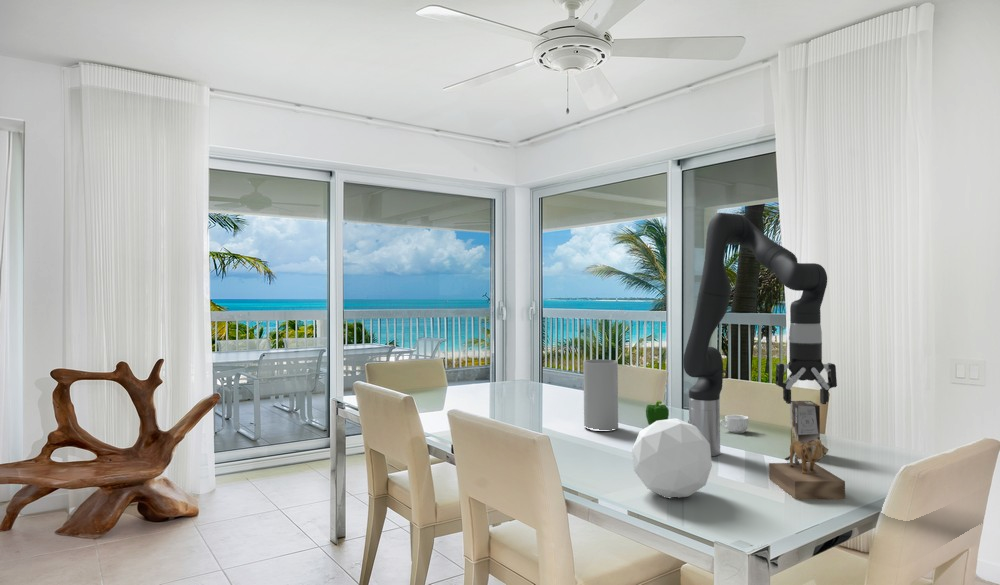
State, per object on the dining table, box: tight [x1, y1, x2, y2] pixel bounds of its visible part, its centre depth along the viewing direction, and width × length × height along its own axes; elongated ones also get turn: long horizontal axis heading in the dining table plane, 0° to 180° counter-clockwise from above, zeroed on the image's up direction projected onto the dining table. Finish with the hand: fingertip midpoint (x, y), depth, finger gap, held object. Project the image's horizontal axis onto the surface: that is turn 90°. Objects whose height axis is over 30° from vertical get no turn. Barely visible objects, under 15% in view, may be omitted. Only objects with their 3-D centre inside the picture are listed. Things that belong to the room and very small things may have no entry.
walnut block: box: [768, 462, 846, 501], centre depth 160 cm, size 12×16×5 cm
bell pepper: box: [645, 400, 670, 426], centre depth 234 cm, size 8×8×10 cm
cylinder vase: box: [582, 359, 619, 430], centre depth 231 cm, size 12×12×25 cm
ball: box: [631, 417, 713, 498], centre depth 157 cm, size 19×20×20 cm
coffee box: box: [789, 400, 821, 456], centre depth 192 cm, size 9×6×16 cm
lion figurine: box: [784, 439, 829, 474], centre depth 162 cm, size 15×5×9 cm, turn 11°
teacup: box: [720, 414, 749, 434], centre depth 223 cm, size 10×8×5 cm
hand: (805, 403), depth 160 cm, fingers open, 8 cm apart
